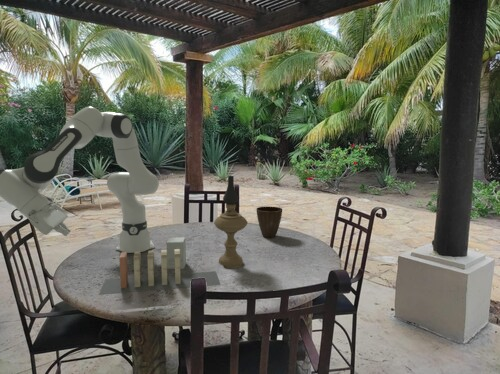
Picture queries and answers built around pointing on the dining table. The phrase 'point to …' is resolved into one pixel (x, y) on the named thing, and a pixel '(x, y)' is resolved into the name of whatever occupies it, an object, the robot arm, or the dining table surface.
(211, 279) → the mat
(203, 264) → the dining table surface
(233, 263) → the oil lamp
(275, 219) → the plant pot
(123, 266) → the domino
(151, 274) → the domino
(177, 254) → the domino
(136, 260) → the domino
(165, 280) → the domino
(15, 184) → the robot arm
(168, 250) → the supplement box
